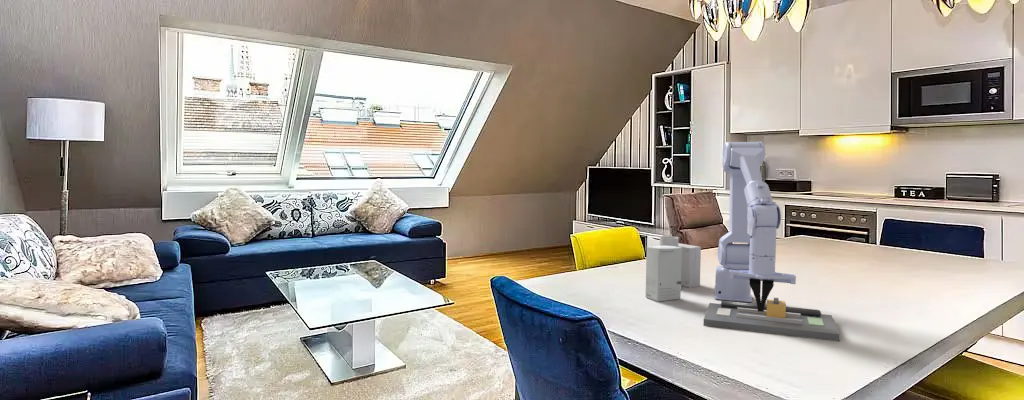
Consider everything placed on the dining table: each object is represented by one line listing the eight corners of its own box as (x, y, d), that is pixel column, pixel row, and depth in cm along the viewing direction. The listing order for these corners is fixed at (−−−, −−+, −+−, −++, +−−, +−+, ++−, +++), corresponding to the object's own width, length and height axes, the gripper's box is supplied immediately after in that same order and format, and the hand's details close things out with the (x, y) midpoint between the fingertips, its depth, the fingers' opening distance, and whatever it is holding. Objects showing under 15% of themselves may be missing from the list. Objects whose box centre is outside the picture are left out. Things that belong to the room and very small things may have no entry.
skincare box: (657, 302, 153) (658, 248, 152) (644, 297, 159) (645, 245, 157) (681, 299, 156) (683, 246, 155) (668, 294, 162) (669, 243, 161)
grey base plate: (703, 325, 132) (703, 314, 132) (709, 308, 147) (709, 298, 146) (839, 341, 121) (839, 328, 120) (831, 321, 135) (831, 310, 135)
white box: (700, 285, 173) (701, 237, 172) (668, 291, 165) (669, 241, 164) (669, 278, 183) (670, 233, 182) (638, 283, 176) (639, 236, 174)
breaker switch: (766, 317, 132) (767, 300, 132) (766, 313, 135) (767, 296, 135) (785, 319, 130) (785, 302, 130) (784, 315, 134) (785, 298, 134)
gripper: (728, 255, 132) (727, 311, 133) (797, 259, 126) (795, 318, 127) (730, 250, 139) (729, 304, 140) (795, 254, 133) (793, 310, 134)
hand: (760, 310), depth 134 cm, fingers closed
